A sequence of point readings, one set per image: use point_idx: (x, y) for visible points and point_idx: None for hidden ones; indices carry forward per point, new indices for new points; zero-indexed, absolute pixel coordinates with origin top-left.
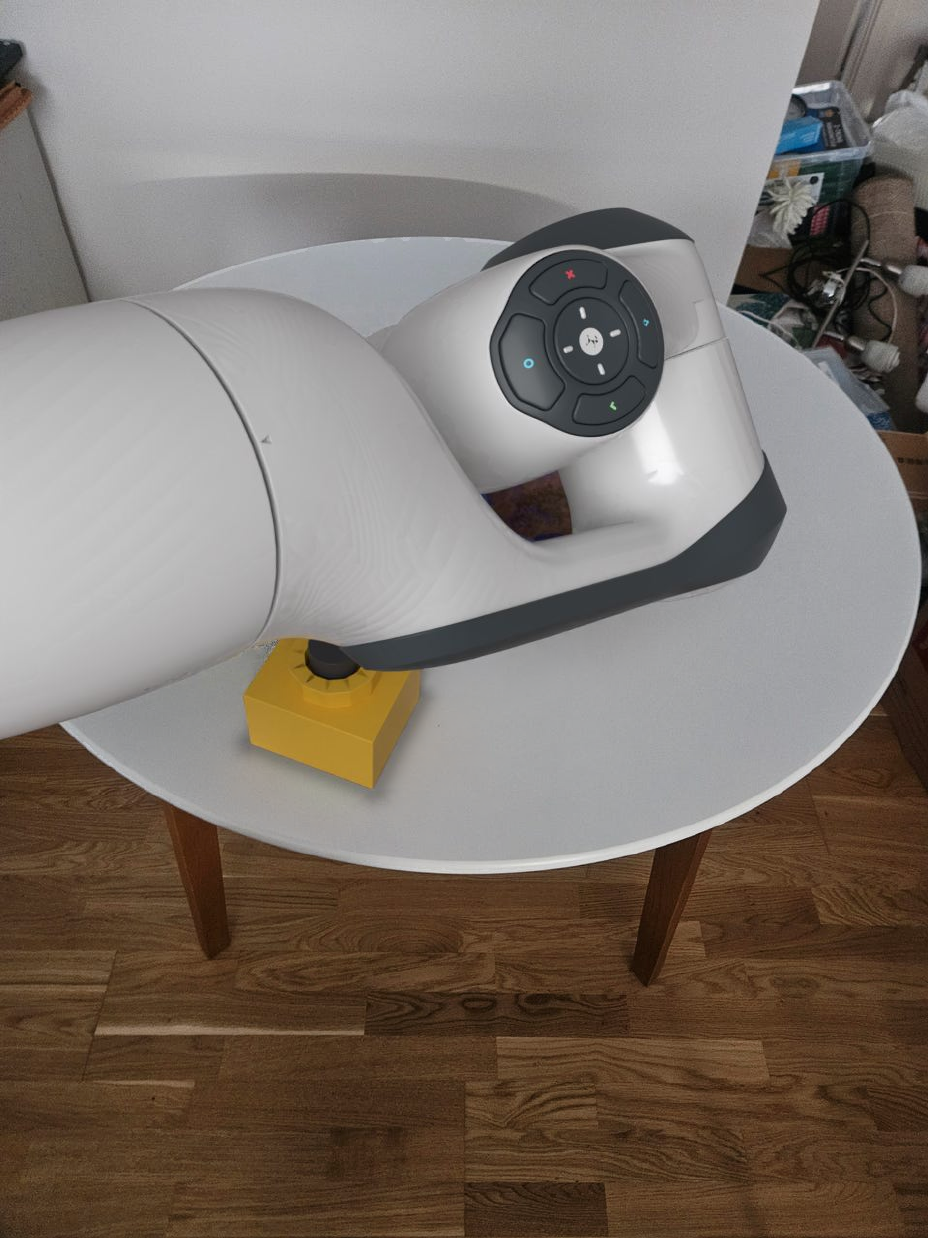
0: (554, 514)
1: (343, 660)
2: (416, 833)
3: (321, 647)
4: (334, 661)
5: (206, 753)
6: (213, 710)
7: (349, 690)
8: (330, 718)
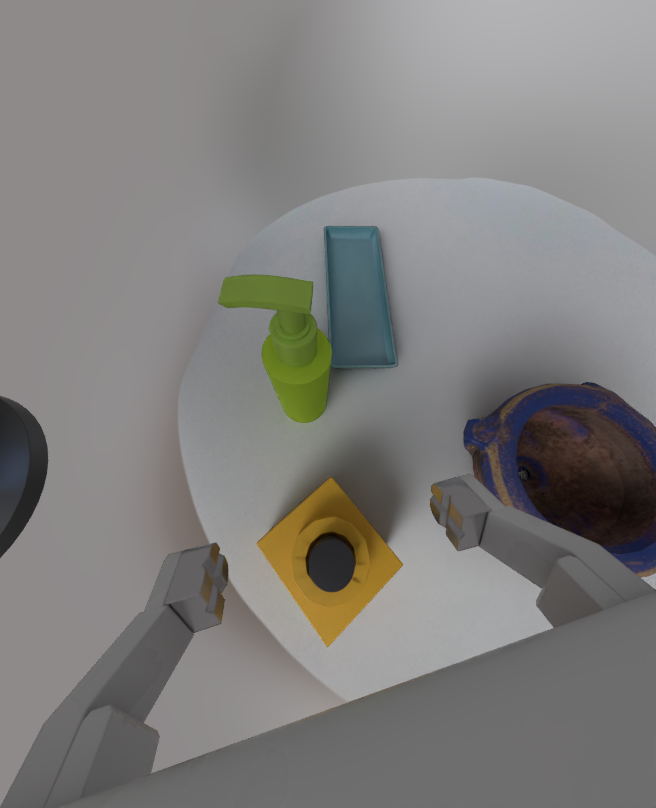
0: (540, 443)
1: (331, 589)
2: (337, 665)
3: (320, 563)
4: (323, 587)
5: (241, 524)
6: (259, 492)
7: (327, 606)
8: (307, 602)
